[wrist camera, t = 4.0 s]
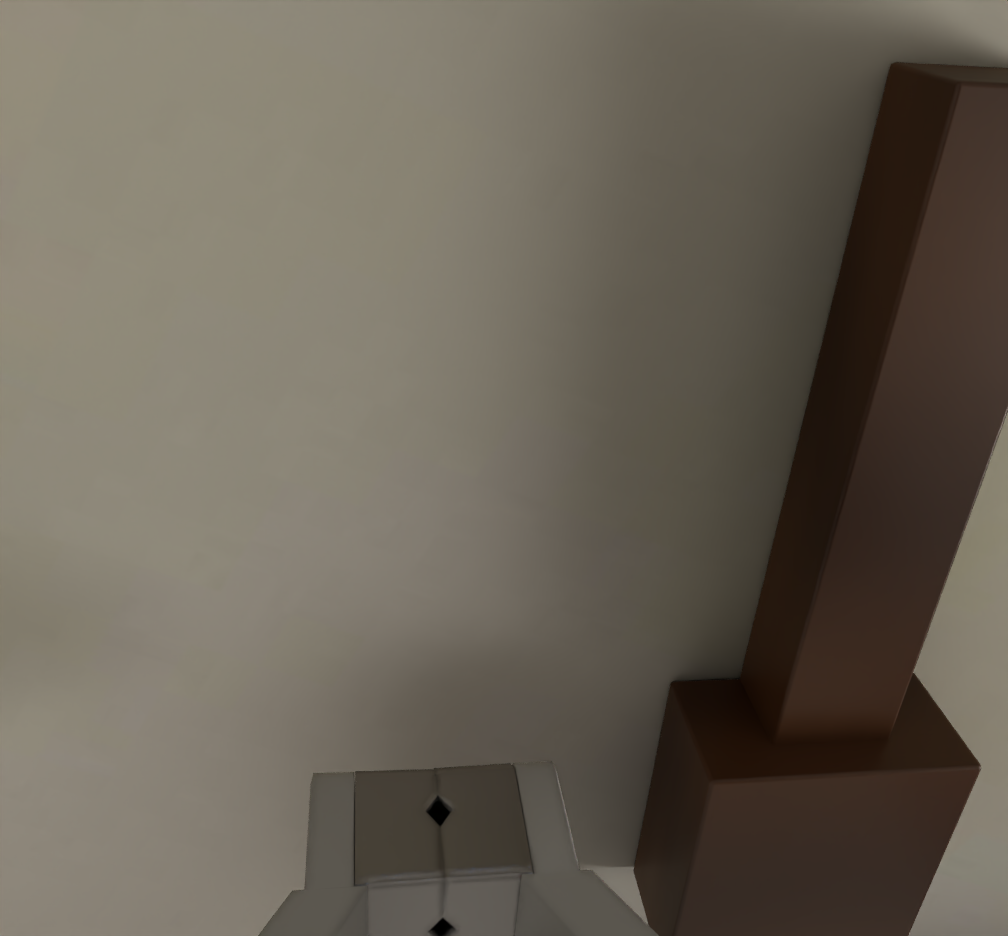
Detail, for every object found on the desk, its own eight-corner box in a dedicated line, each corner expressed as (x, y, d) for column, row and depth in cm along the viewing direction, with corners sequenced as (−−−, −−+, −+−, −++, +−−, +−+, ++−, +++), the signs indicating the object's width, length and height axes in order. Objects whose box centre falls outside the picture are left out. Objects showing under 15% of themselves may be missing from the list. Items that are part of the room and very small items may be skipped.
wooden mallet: (792, 55, 10) (880, 85, 8) (1129, 74, 11) (1274, 105, 9) (631, 870, 17) (663, 979, 15) (846, 855, 17) (900, 959, 16)
